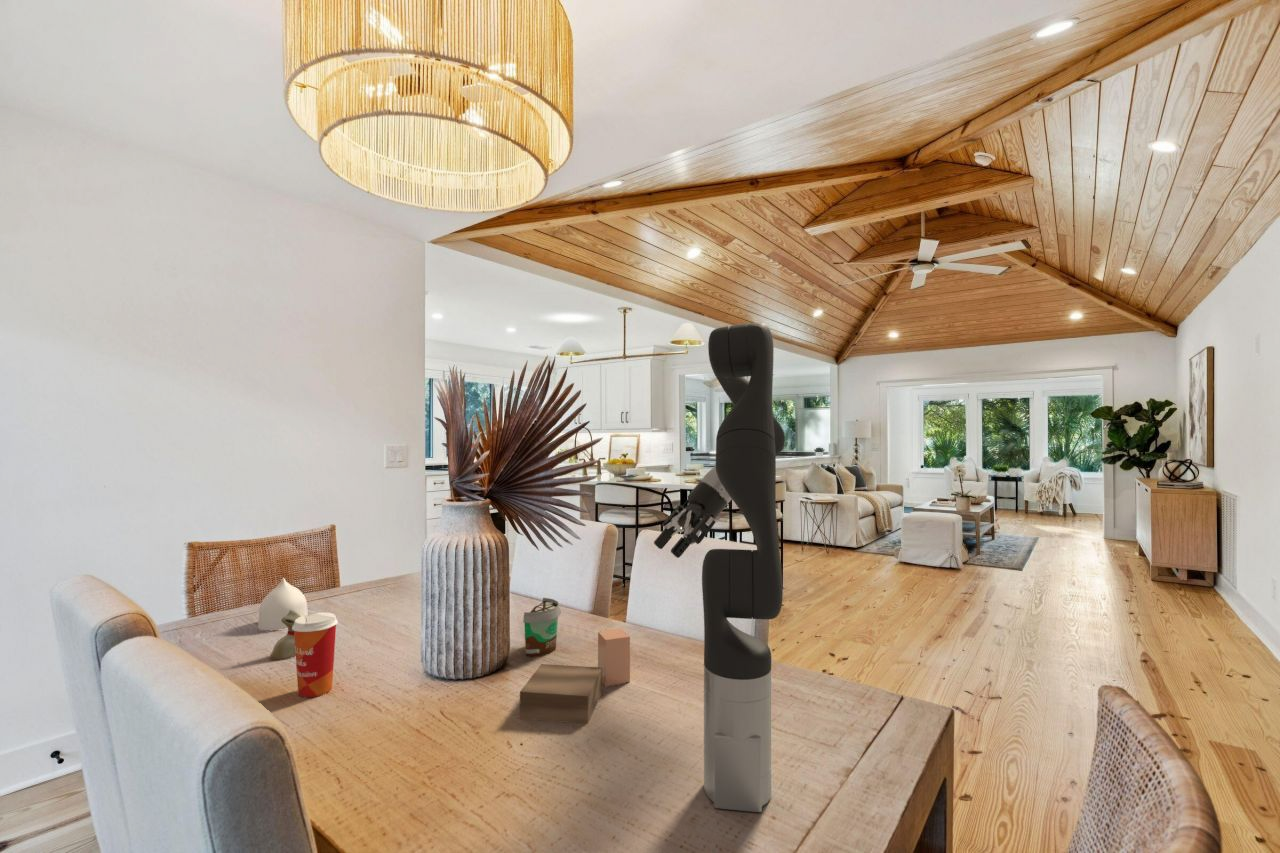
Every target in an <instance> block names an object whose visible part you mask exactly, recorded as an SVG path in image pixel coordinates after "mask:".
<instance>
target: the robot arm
mask: <svg viewBox="0 0 1280 853" xmlns="http://www.w3.org/2000/svg"><path fill="white" fill-rule="evenodd" d="M707 348H708V349H707V350H708V359H709V363H710V367H711V369H712V372H713V374H714V377H716V379H717V381H718V383H719V384H720V386H721V388H722V390H723V391H724V392H725V394H726V396H727V397H728V399H729V401H731V404H732V408H731V409H730V410H729V411H728V413H726V414H727V415H726V416H725V417H724V419H723V421H722V422H721V424H720V426H719V428H718V431H717V433H716V438H715V440H716V442H715V465H714V466H713V467H712V468H711V469H710V470H708V472H707V473H706V474H705V475H704V476H703V477H702V479H701V480H700V481H699V482H698V483H697V485H695V487H694V488H693V489H692V490H691V491H690V493H689V494H688V495H687V500H688V502H689V504H688V505H687V506H685V508H684V507H683V505H682V504H679V505H678V506H676V508H675V509H673V511H672V512H671V513H670V515H668V517H667V518H666V519H665V520H664V521H663V522H662V527H663V530H662V531H661V533H659V535H658V537H656V539H655V540H654V541H653V544H654V545H655V546H656V547H657V548H658V549H660V550H662V549H663V548H664V547H665V546H666V545H667V544H668V543H669V541H670V540H671V539H672V537H673V536H675V535H676V534H678V533H683V535H682V537H680V538H679V540H678V541H677V542H675V544H674V546H672V548H671V549H670V553H671V554H672V556H674V557H675V558H677V559H679V558H681V556H682V555H683V554H684V553H685V552H686V550H687V549H688V548H689V547H690V545H691V546H692V545H694V544H696V545H699V544H700V543H701V542H702V541H703V540H704V539H705V537H706V536H707V535H708V533H710V531H711V530H712V529H713V527H714V525H716V519H717V517H719V515H720V514H721V513H722V511H723V510H724V509H725V508H726V507H727V506H728V504H729V503H730V502H731V501H733V502H734V504H735V505H736V506H737V508H738V510H739V511H740V512H741V514H742V516H743V517H744V519H745V521H746V523H747V525H748V526H749V528H750V531H751V533H752V536H753V539H754V541H755V546H756V549H740V548H738V549H736V548H712V549H709V550H708V551H707V552H706V554H705V555H704V558H703V561H702V570H701V589H702V590H701V591H702V592H701V593H702V605H703V623H704V624H703V626H704V627H703V629H704V630H703V632H704V633H703V634H704V636H703V638H704V639H703V642H704V645H703V646H704V647H703V649H704V650H703V790H704V792H705V794H706V796H707V797H708V799H710V800H711V802H713V808H715V809H721V810H732V811H741V812H743V811H744V812H751V813H761V812H762V811H763V807H764V806H765V805H766V804H767V803H769V801H770V800H771V796H772V652H771V649H770V647H769V645H767V643H766V642H765V641H763V640H762V639H760V638H757V637H756V636H754V635H752V634H748V633H747V632H744V631H743V630H740V629H739V628H737V627H736V626H734V625H733V624H732V623H731V622H730V621H729V620H728V618H729V619H744V620H745V619H747V620H752V619H753V620H774V619H776V618H778V616H779V614H780V613H781V610H782V606H783V594H784V592H783V572H782V563H781V550H780V542H779V531H778V521H777V520H778V519H777V518H778V517H777V505H776V504H777V503H776V502H777V501H776V494H777V493H776V491H777V489H776V488H777V487H776V484H777V482H776V472H777V471H776V470H777V467H776V466H777V465H776V464H777V463H776V462H777V459H776V456H778V455H779V454H780V453H781V452H782V450H783V448H784V447H785V443H786V436H785V432H784V429H783V427H782V426H781V424H780V423H779V421H778V419H777V418H776V417H775V416H774V412H773V411H774V410H773V409H774V408H773V381H774V380H773V379H774V378H773V377H774V354H775V352H774V340H773V335H772V332H771V328H770V327H769V326H768V325H767V324H766V323H764V322H763V323H762V322H748V323H741V324H734V325H728V326H727V325H725V326H721V327H718V328H715V329H712V331H710V334H709V336H708V346H707ZM747 377H750V378H749V379H748V378H747Z"/></svg>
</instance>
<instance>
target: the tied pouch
mask: <svg viewBox="0 0 1280 853" xmlns="http://www.w3.org/2000/svg"><path fill="white" fill-rule="evenodd" d="M299 617H301V616H300V615H299V614H298V613H296V612H295V611H294V610H290V611H289V612H288V614H287V615H286V616H285V617H283V618H282V619H281V621H282V623H284V624H285V625H286V626H287V627H288V629H287V633H286V634H285V636H283V637H282V638H280V639H278V640H277V641H276V643H275V645H274V646H273V649H272V650H271V653H270V655H269V660H270V661H275V660H277V661H279V660H280V659H282V660H286V659H287V658H288V659H292V658H291V657H293V658H296V657H295V656H296V654H295V638H294V630H292V627H293V625H294V622H295V620H296V619H297V618H299ZM288 659H287V660H288Z"/></svg>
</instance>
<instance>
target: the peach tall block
mask: <svg viewBox="0 0 1280 853" xmlns="http://www.w3.org/2000/svg"><path fill="white" fill-rule="evenodd" d="M597 662H598V663H597V667H601V668H602V684H603V685H604V684H605V685H604V686H605V687H609V686H608V685H611V686H615V685H614V684H617V685H620V684H619V683H623V684H627V683H626V682H629V683H631V636H630V635H628V633H627V632H626V631H624V630H623V629H622V628H616V629H610V630H609V629H608V630H601V631H597Z"/></svg>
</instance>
